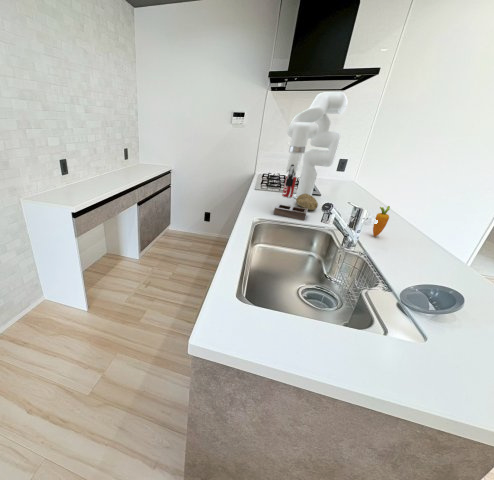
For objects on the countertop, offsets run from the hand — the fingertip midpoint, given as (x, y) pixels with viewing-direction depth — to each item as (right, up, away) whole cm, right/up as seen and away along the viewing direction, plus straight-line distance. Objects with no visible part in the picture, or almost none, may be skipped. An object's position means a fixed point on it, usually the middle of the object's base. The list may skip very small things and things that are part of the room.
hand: (289, 184), depth 140 cm
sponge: (+18, -10, +19) cm, 28 cm away
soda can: (0, -7, +3) cm, 7 cm away
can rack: (+3, -16, +5) cm, 17 cm away
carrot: (+32, -29, -18) cm, 47 cm away
